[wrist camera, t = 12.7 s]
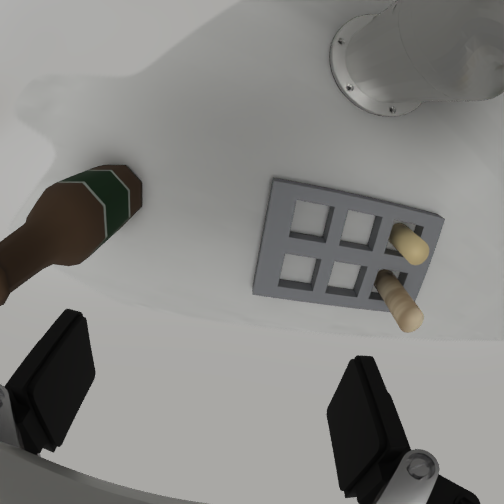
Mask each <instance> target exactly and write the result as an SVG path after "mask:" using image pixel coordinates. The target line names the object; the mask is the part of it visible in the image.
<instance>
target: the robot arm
mask: <svg viewBox="0 0 504 504" xmlns="http://www.w3.org/2000/svg"><path fill="white" fill-rule="evenodd" d="M338 41H340V42H341V43H342V44H341V45H340V44H339V43H338ZM330 65H331V69H332V73H333V76H334V78H335V80H336V82H337V85H338V86H339V88H340V89H341V91H342V92H343V93H344V95H345V96H346V97H347V98H348V99H349V100H350V101H351V102H352V103H354V104H355V105H357V106H358V107H359V108H361V109H363V110H365V111H367V112H369V113H372V114H375V115H378V116H387V117H396V116H401V115H405V114H407V113H410V112H412V111H413V110H415V109H416V108H417V107H419V106H420V105H421V104H422V102H430V101H482V100H488V99H491V98H494V97H496V96H498V95H500V94H501V93H503V92H504V0H398V1H396V2H395V3H394V4H392V5H391V6H390V7H388V8H387V9H386V10H384V11H383V12H382V13H381V14H379V15H377V14H367V15H362V16H358V17H356V18H354V19H351V20H350V21H348V22H347V23H346V24H344V25H343V26H342V27H341V28H340V29H339V31H338V32H337V34H336V35H335V37H334V39H333V42H332V45H331V49H330ZM347 86H348V87H350V90H347V89H346V87H347ZM389 108H391V112H390V111H389ZM94 378H95V367H94V362H93V356H92V351H91V345H90V340H89V333H88V327H87V320H86V318H85V317H83V314H82V313H81V312H78V311H74V310H71V309H66V310H65V311H64V312H63V313H62V314H61V315H60V316H59V318H58V319H57V320H56V321H55V322H54V324H53V325H52V326H51V327H50V329H49V330H48V331H47V332H46V333H45V335H44V336H43V337H42V338H41V340H39V341H38V343H37V344H36V345H35V347H34V348H33V349H32V350H31V352H30V353H29V354H28V356H27V357H26V358H25V359H24V361H23V362H22V363H21V365H20V366H19V367H18V369H17V370H16V371H15V373H14V374H13V376H12V377H11V378H10V380H9V381H8V383H7V384H6V385H5V387H4V386H2V385H0V504H206V503H199V502H193V501H187V500H181V499H176V498H170V497H166V496H161V495H156V494H152V493H148V492H143V491H139V490H135V489H132V488H128V487H124V486H121V485H117V484H114V483H110V482H107V481H104V480H100V479H98V478H94V477H92V476H89V475H86V474H83V473H80V472H77V471H75V470H72V469H69V468H66V467H64V466H61V465H59V464H56V463H53V462H51V461H49V460H46V459H44V458H41V457H40V452H41V450H42V448H44V449H47V450H49V451H51V452H54V451H55V449H56V447H57V446H58V447H60V446H61V445H62V443H63V441H64V439H65V437H66V434H67V432H68V430H69V428H70V426H71V424H72V422H73V420H74V418H75V416H76V414H77V411H78V410H79V408H80V406H81V404H82V402H83V400H84V398H85V396H86V394H87V392H88V390H89V388H90V386H91V384H92V382H93V380H94ZM327 420H328V425H329V430H330V436H331V441H332V447H333V452H334V458H335V464H336V469H337V476H338V481H339V487H340V490H342V491H344V493H345V498H350V497H357V501H358V503H359V504H480V502H479V499H478V498H477V496H476V495H474V494H473V493H472V492H470V491H468V490H466V489H464V488H462V487H461V486H459V485H457V484H455V483H453V482H451V481H450V480H448V479H446V478H444V477H442V476H441V475H439V464H438V462H437V460H436V458H435V457H434V456H433V455H432V454H430V453H429V452H427V451H424V450H420V449H415V450H411V449H410V446H409V443H408V440H407V438H406V435H405V432H404V429H403V427H402V424H401V421H400V419H399V416H398V413H397V411H396V408H395V405H394V403H393V400H392V398H391V396H390V394H389V393H388V392H387V390H386V387H385V385H384V382H383V380H382V377H381V375H380V372H379V370H378V367H377V365H376V362H375V360H374V358H373V357H371V356H356V357H355V359H351V360H350V362H349V364H348V366H347V368H346V370H345V373H344V375H343V377H342V379H341V381H340V383H339V385H338V388H337V390H336V392H335V394H334V396H333V398H332V400H331V402H330V404H329V406H328V409H327Z"/></svg>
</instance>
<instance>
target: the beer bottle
mask: <svg viewBox="0 0 504 504" xmlns="http://www.w3.org/2000/svg"><path fill="white" fill-rule="evenodd" d="M141 207H142V183H141V181H140V180H139V179H138V178H137V177H136V176H135V175H134V174H133V173H132V171H131V170H130V169H129V168H128V167H127V166H126V165H102V166H98V167H95V168H92V169H90V170H87V171H84V172H82V173H79V174H77V175H74V176H72V177H69V178H67V179H64V180H62V181H59V182H57V183H55V184H53V185H52V186H50V187H48V188H46V190H45V191H44V192H43V194H42V195H41V197H40V198H39V199H38V201H37V202H36V204H35V205H34V207H33V209H32V210H31V212H30V213H29V215H28V217H27V219H26V223H25V224H24V225H22V226H21V227H20V228H18V229H17V230H16V231H14V232H13V233H12V234H10V235H9V236H8V237H6V238H5V239H4V240H2V241H1V242H0V306H1V305H4V303H5V301H6V300H7V298H8V296H9V294H10V293H11V292H12V291H13V290H15V289H16V288H17V287H19V286H20V285H21V284H23V283H24V282H25V281H27V280H28V279H30V278H31V277H32V276H34V275H35V274H36V273H38V272H39V271H41V270H42V269H43V268H46V267H48V266H50V265H52V264H57V265H64V266H72V265H77V264H80V263H81V262H83V261H84V260H86V259H87V258H88V257H89V256H90V255H92V254H93V253H94V252H95V251H96V250H97V249H98V248H99V247H100V246H101V245H102V244H103V243H105V242H106V241H107V240H108V239H109V238H110V237H111V236H112V235H113V234H114V233H116V232H117V231H118V230H119V229H120V228H121V227H122V226H123V225H124V224H125V223H126V222H127V221H128V220H129V219H130V218H131V217H132V216H133V215H134V214H135V213H136V212H137V211H138V210H139V209H140V208H141Z"/></svg>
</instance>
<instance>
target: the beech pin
mask: <svg viewBox="0 0 504 504" xmlns="http://www.w3.org/2000/svg"><path fill="white" fill-rule="evenodd" d="M374 286H375V287H376V289H377V291H378V292H379V294H380V295H381V297H382V299H383V300H384V302H385V304H386V305H387V307H388V309H389V310H390V312H391V314H392V315H393V317H394V319H395V320H396V322H397V324H398V325H399V327H400V329H401V330H402V331H403V332H407V333H409V332H413V331H415V330H416V329H418V328H419V327H420V326H421V324H422V322H423V320H424V315H423V313H422V311H421V310H420V309H419V307H418V306H417V305H416V303H415V302H414V301H413V299H412V298H411V296H410V295H409V294H408V292H407V291H406V290H405V288H404V287H403V286H402V285H401V283H400V282H399V281H398V279H397V278H396V277H395V275H394V274H393V273H392V272H391V271H390V270H386V269H383V270H380V271H379V272H378V273H377V276H376V279H375V282H374Z"/></svg>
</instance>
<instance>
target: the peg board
mask: <svg viewBox="0 0 504 504" xmlns="http://www.w3.org/2000/svg"><path fill="white" fill-rule="evenodd" d="M297 200H301V201H306V202H311V203H317V204H322V205H327V206H330V210H329V214H328V218H327V222H326V226H325V230H324V234H323V237H318V236H312V235H306V234H300V233H294V232H290V229H291V224H292V220H293V215H294V210H295V205H296V201H297ZM348 210H352V211H357V212H362V213H366V214H371V215H376V218H375V221H374V225H373V229H372V232H371V235H370V239H369V242H368V245H363V244H357V243H352V242H346V241H341V236H342V232H343V228H344V225H345V221H346V217H347V213H348ZM394 220H398V221H402V222H407V223H411V224H415V225H416V227H415V230H414V232H413V231H412V230H411V229H409V228H408V227H407V226H406V225H404V224H402V223H397V224H395V225H393V223H394ZM444 220H445V219H444V218H442V217H441V216H439V215H438V214H434V213H431V212H427V211H423V210H420V209H416V208H412V207H408V206H404V205H400V204H396V203H392V202H388V201H384V200H379V199H375V198H371V197H366V196H362V195H358V194H353V193H349V192H344V191H339V190H334V189H330V188H325V187H320V186H315V185H310V184H305V183H299V182H294V181H289V180H283V179H277V178H273V181H272V186H271V192H270V197H269V203H268V208H267V213H266V219H265V224H264V229H263V235H262V240H261V245H260V251H259V256H258V261H257V267H256V272H255V277H254V282H253V295H259V296H266V297H273V298H280V299H287V300H295V301H302V302H310V303H317V304H325V305H333V306H341V307H349V308H358V309H366V310H375V311H384V312H390V310H389V309H388V307H387V305H386V304H385V302H384V300H383V299H382V297H381V295H380V294H379V293H374V292H371V290H372V288H373V285H374V282H375V279H376V276H377V273H378V270H379V269H386V270H392V271H398V272H400V275H399V278H398V281H399V282H400V283H401V285H402V286H403V287H404V288H405V290H406V291H407V292H408V294H409V295H410V296H411V298H412V299H413V301H414V302H415V300H416V298H417V295H418V293H419V290H420V288H421V285H422V283H423V280H424V278H425V275H426V272H427V270H428V267H429V264H430V262H431V259H432V256H433V253H434V250H435V248H436V245H437V242H438V239H439V236H440V233H441V229H442V226H443V223H444ZM388 240H389V242H390V243H391V244H392V245H393V246H394V247H395V248H396V249H397V250H398V251H395V250H390V249H386V246H387V243H388ZM285 253H286V254H292V255H299V256H305V257H311V258H317V261H316V265H315V269H314V273H313V276H312V280H311V284H309V283H302V282H295V281H288V280H282V279H280V274H281V270H282V265H283V261H284V256H285ZM334 261H336V262H342V263H349V264H355V265H361V268H360V271H359V274H358V278H357V281H356V284H355V287H354V290H351V289H344V288H337V287H330V286H327V285H328V282H329V278H330V275H331V272H332V268H333V265H334Z"/></svg>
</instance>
